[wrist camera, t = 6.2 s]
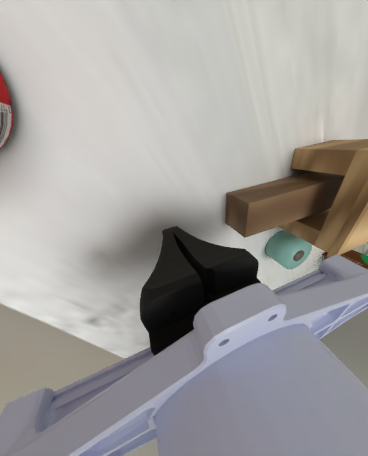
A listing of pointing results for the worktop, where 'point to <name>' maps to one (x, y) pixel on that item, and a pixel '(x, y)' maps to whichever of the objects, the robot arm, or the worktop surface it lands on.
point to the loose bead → (288, 249)
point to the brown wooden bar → (281, 201)
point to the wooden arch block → (345, 200)
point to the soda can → (5, 113)
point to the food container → (353, 258)
